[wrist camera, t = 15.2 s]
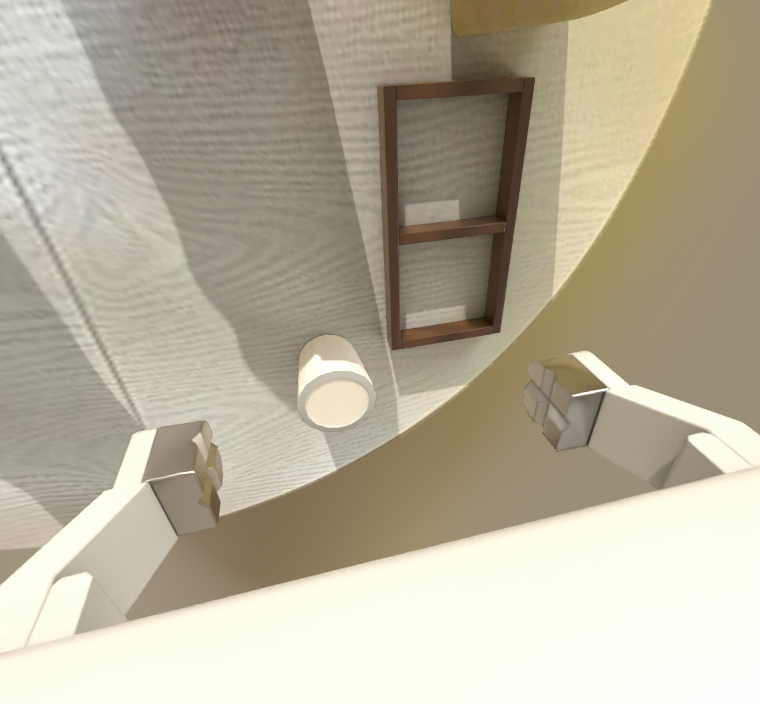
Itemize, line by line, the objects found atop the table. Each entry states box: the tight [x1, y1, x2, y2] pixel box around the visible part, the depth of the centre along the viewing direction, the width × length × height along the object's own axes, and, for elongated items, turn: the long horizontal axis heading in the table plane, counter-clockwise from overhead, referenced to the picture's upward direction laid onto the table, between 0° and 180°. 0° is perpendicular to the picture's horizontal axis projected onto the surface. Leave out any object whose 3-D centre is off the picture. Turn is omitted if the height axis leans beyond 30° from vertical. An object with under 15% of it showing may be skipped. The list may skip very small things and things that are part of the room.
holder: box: [377, 76, 535, 350], centre depth 37 cm, size 11×22×2 cm, turn 3°
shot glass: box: [297, 335, 376, 432], centre depth 39 cm, size 7×7×7 cm
